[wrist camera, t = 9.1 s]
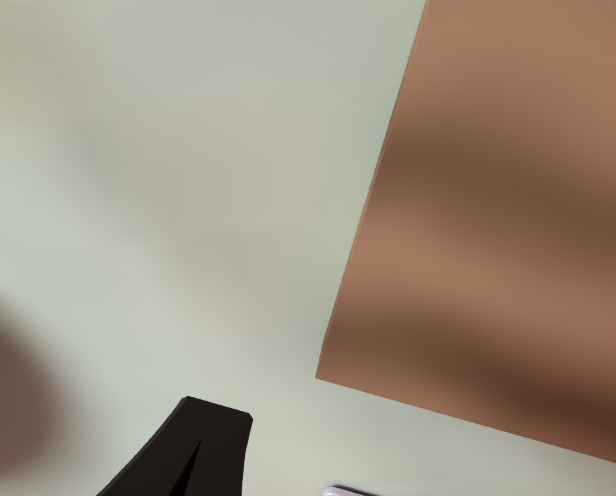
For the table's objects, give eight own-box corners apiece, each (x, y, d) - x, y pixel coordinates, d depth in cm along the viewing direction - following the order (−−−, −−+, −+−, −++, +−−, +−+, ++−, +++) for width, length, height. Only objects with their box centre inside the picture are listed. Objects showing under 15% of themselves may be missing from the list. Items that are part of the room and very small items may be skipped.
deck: (628, 427, 21) (646, 471, 19) (323, 341, 22) (315, 378, 20) (990, -33, 13) (1079, -25, 11) (474, -160, 13) (483, -171, 11)
